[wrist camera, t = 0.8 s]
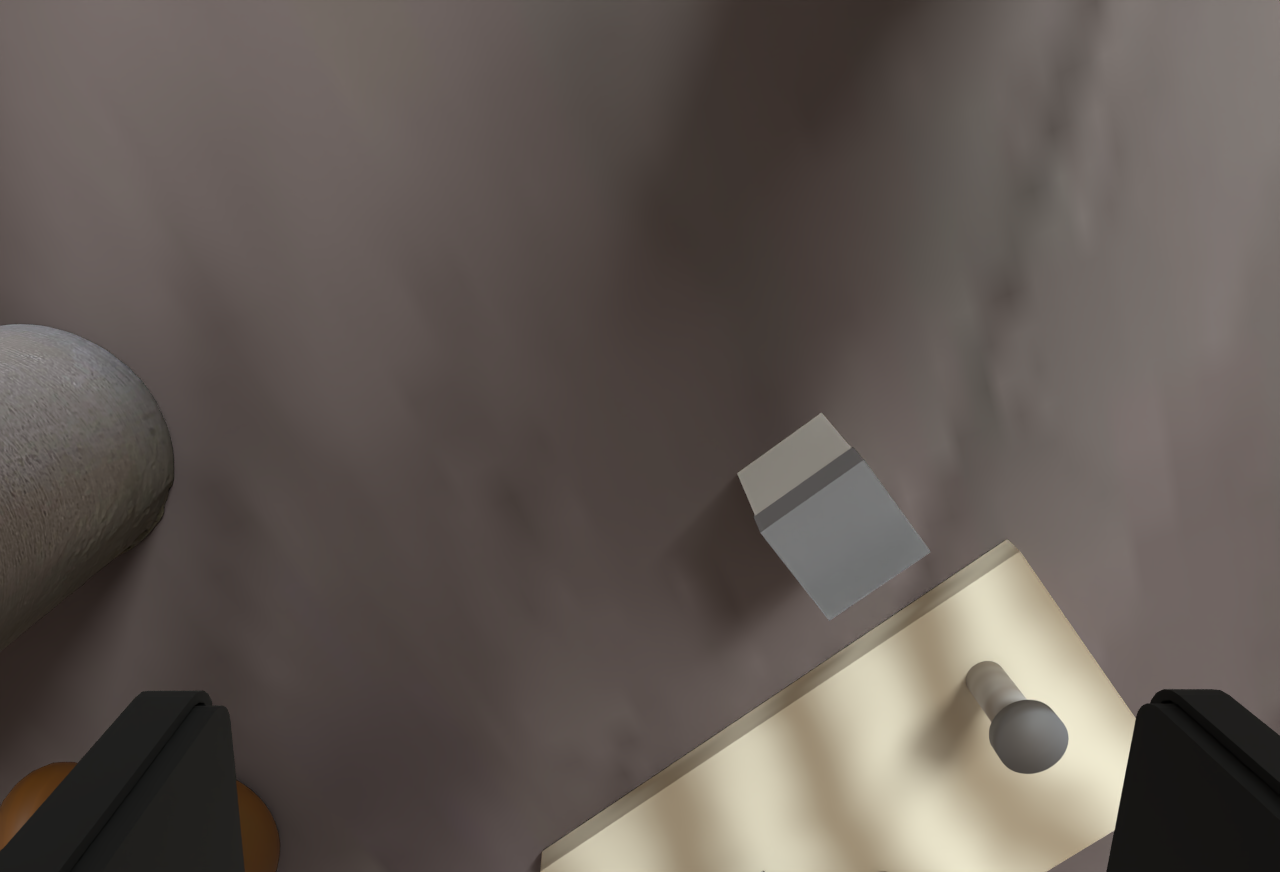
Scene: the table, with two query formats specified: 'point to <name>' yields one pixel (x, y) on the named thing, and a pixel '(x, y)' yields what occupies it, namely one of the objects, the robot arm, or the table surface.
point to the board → (897, 753)
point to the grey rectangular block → (829, 517)
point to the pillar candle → (71, 468)
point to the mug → (40, 783)
